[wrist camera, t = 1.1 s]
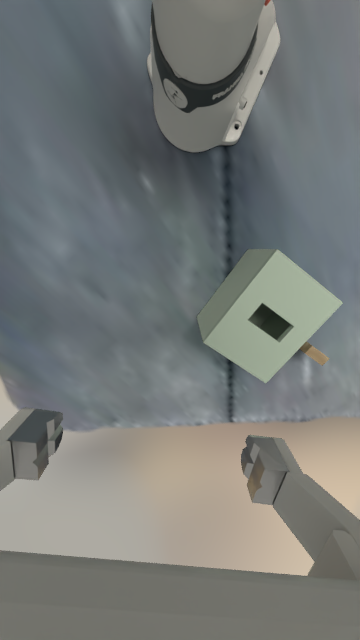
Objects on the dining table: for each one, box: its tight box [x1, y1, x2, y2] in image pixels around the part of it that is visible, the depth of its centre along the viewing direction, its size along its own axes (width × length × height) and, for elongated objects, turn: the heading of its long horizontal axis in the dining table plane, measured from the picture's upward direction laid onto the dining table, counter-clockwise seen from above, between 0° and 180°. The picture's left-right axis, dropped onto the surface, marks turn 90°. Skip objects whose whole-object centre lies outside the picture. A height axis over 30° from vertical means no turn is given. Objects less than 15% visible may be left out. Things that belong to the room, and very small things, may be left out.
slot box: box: [197, 249, 343, 383], centre depth 41 cm, size 18×14×14 cm
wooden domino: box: [299, 342, 329, 365], centre depth 47 cm, size 2×5×8 cm, turn 55°
